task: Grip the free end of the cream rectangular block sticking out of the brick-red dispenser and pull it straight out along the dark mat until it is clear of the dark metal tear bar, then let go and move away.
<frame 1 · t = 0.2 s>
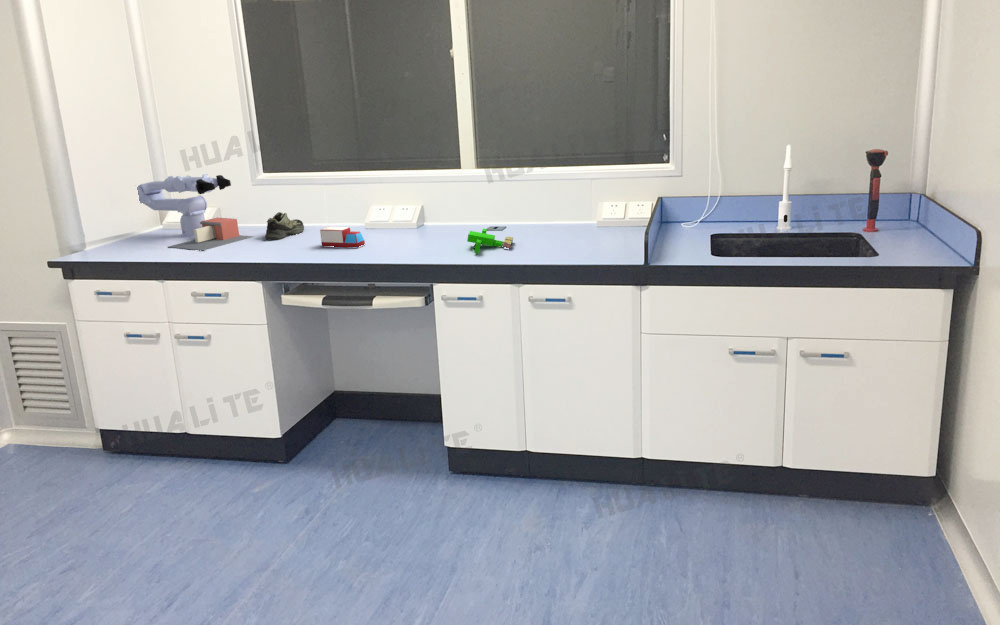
hand: (221, 184, 313), 21 cm above the worktop, tool horizontal, fingers open, 7 cm apart
toy truck: (343, 247, 296), on the worktop
mat: (212, 242, 315), on the worktop
toy: (490, 249, 283), on the worktop
dispenser: (221, 237, 322), resting on mat
cream rectangular block: (207, 233, 316), point 3 cm above the worktop, slide at 0.0 cm
hiking shoe: (286, 235, 322), on the worktop
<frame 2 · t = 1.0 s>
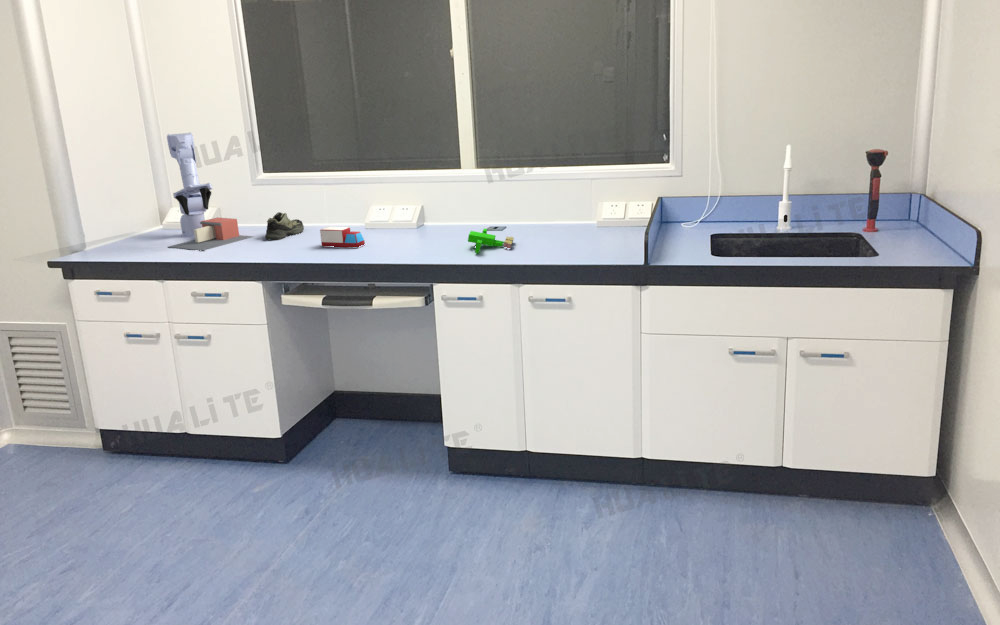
hand: (196, 211, 307), 13 cm above the worktop, tool tilted 30°, fingers open, 7 cm apart
nothing on the worktop moved.
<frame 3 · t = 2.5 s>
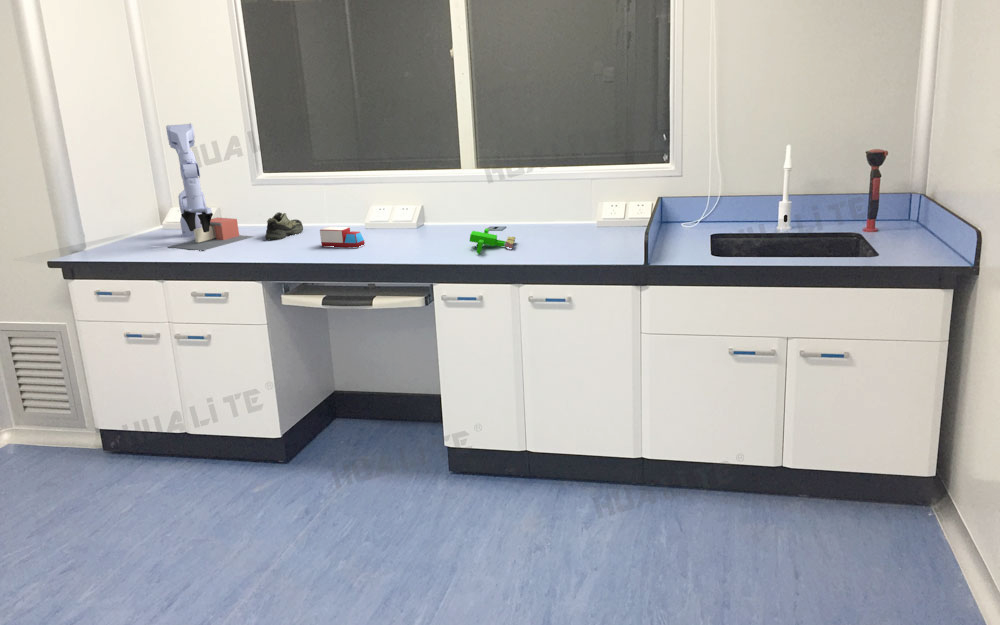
hand: (199, 231, 313), 5 cm above the worktop, tool pointing down, fingers open, 7 cm apart
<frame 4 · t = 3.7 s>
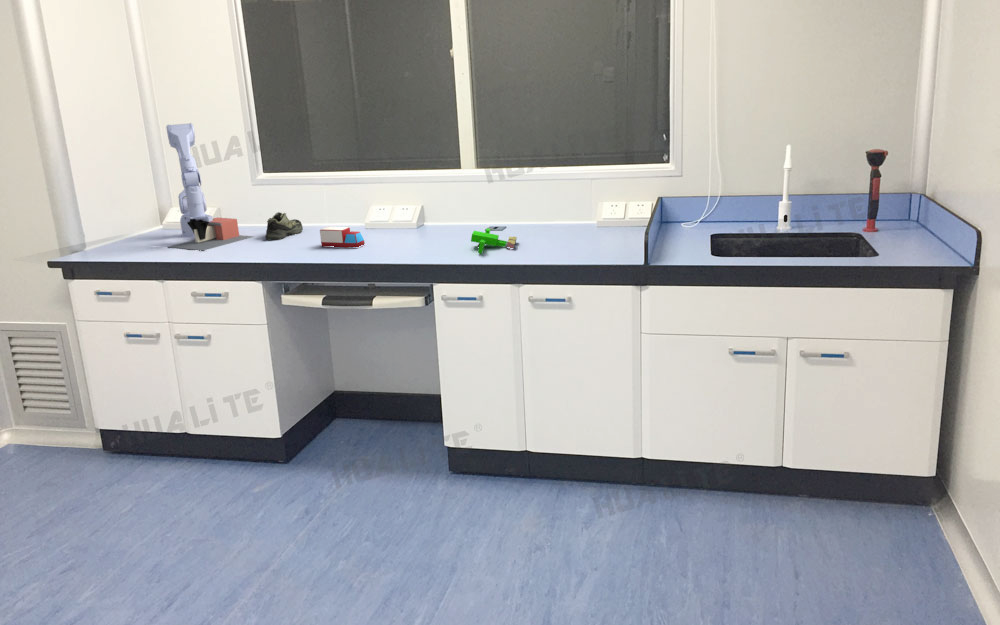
hand: (200, 239, 314), 2 cm above the worktop, tool pointing down, fingers closed on cream rectangular block
cream rectangular block: (207, 233, 316), point 3 cm above the worktop, slide at 0.0 cm, touching gripper
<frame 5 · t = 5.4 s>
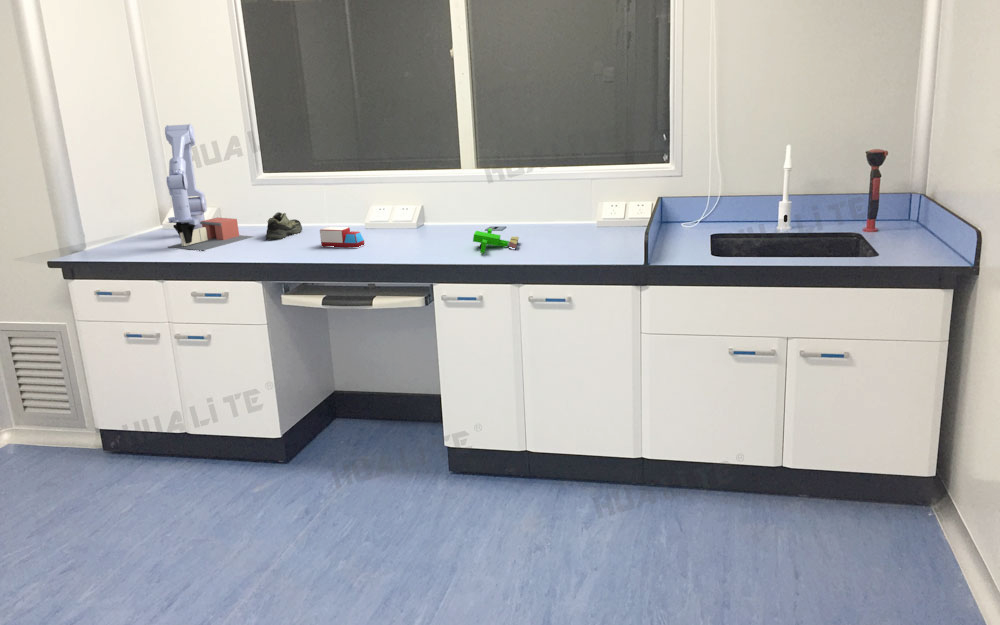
hand: (187, 242, 308), 2 cm above the worktop, tool pointing down, fingers closed on cream rectangular block
cream rectangular block: (194, 236, 311), point 3 cm above the worktop, slide at 6.4 cm, touching gripper
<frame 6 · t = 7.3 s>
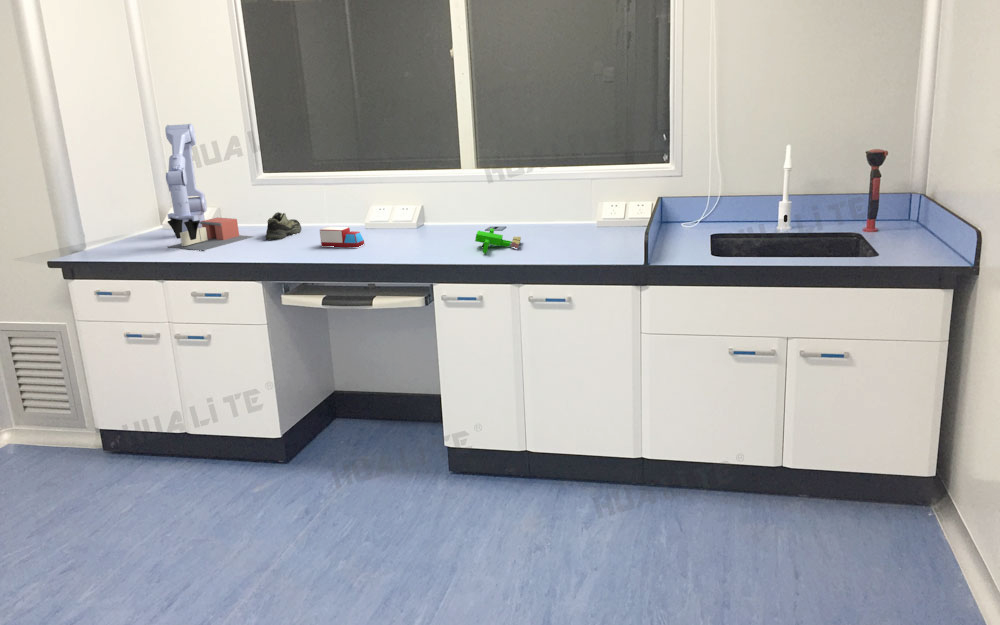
hand: (186, 238, 308), 3 cm above the worktop, tool pointing down, fingers open, 7 cm apart
cream rectangular block: (193, 236, 311), point 3 cm above the worktop, slide at 6.5 cm
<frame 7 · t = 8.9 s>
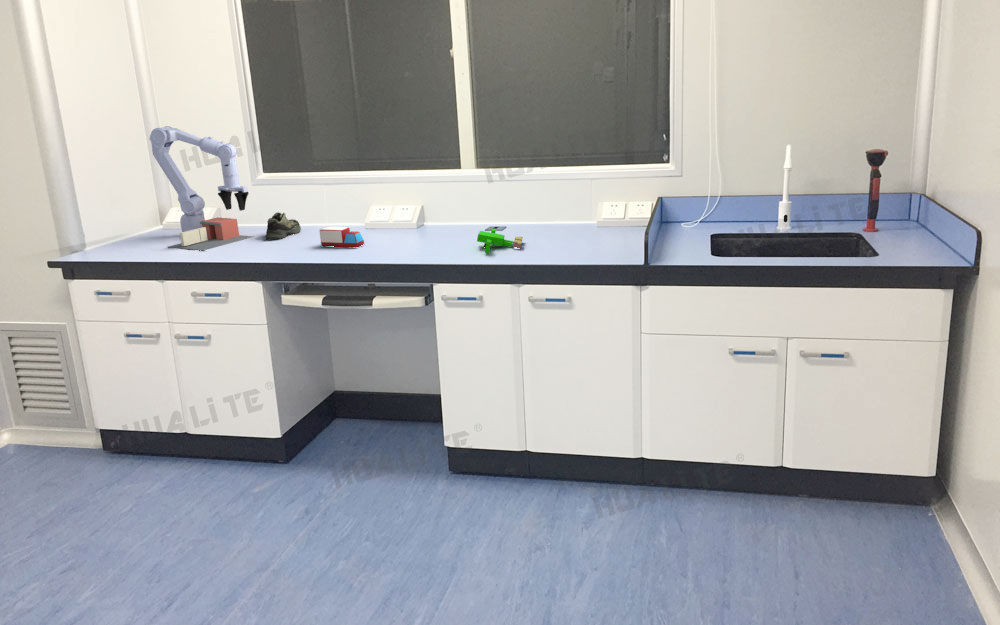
hand: (235, 209, 325), 10 cm above the worktop, tool pointing down, fingers open, 7 cm apart
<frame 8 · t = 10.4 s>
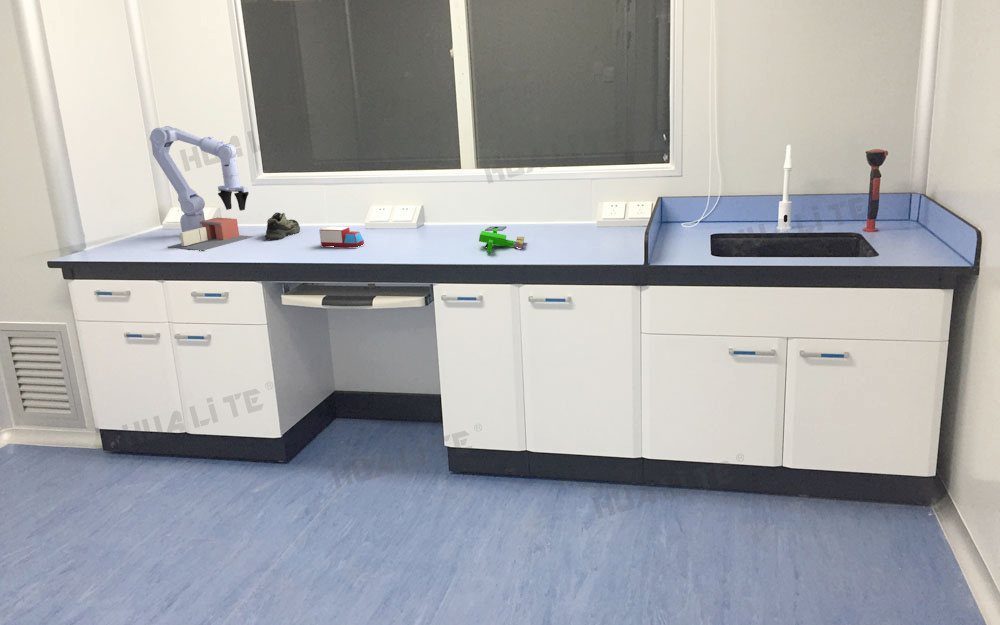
hand: (235, 209, 325), 10 cm above the worktop, tool pointing down, fingers open, 7 cm apart
at the end: cream rectangular block slide at 6.5 cm; the gripper is holding nothing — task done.
